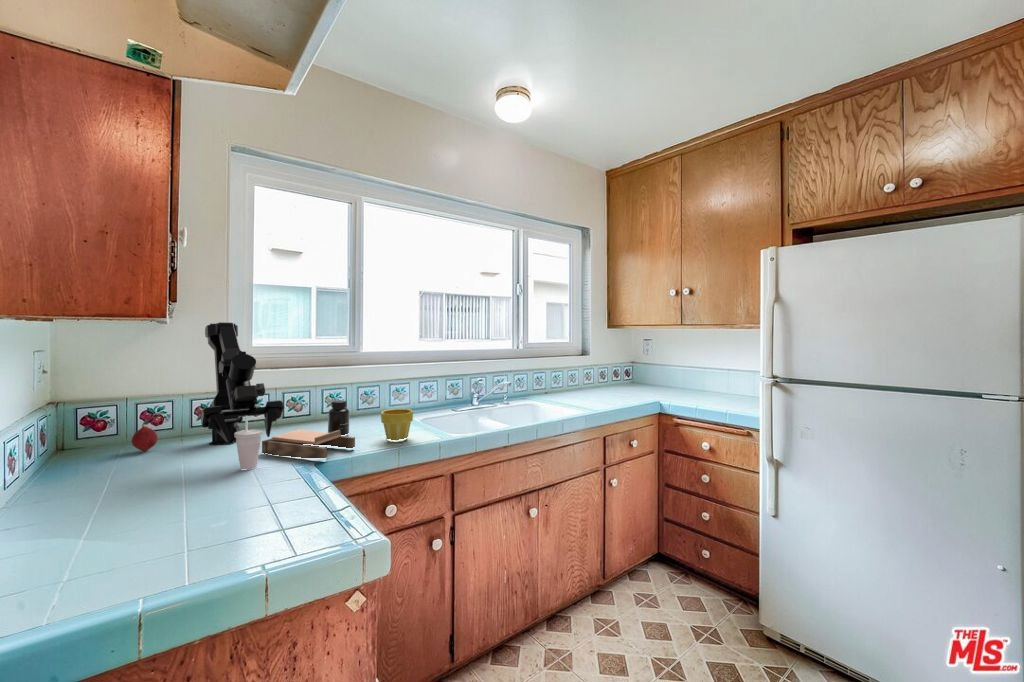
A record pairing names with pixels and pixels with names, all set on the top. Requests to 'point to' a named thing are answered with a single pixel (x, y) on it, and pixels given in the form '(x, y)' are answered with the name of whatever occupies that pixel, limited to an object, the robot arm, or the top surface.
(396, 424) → the plant pot
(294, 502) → the top surface
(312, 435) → the trapdoor
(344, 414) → the supplement bottle
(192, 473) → the top surface
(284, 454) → the frame
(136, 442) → the onion
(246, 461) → the smoothie
